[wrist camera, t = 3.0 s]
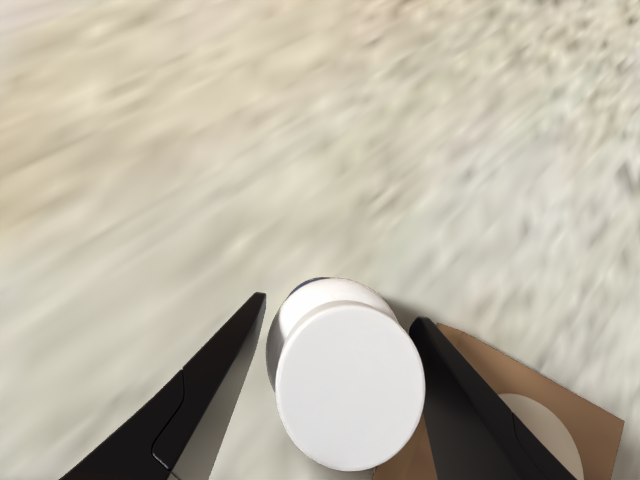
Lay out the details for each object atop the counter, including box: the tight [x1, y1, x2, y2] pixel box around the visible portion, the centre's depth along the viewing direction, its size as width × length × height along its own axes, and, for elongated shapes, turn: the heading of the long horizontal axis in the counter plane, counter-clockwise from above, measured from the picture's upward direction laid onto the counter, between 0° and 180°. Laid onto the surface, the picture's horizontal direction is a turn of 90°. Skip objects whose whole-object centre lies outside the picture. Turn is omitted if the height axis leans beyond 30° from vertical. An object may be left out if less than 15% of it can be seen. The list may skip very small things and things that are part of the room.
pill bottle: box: [266, 277, 425, 471], centre depth 11 cm, size 5×5×10 cm
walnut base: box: [372, 323, 625, 480], centre depth 14 cm, size 11×11×3 cm
